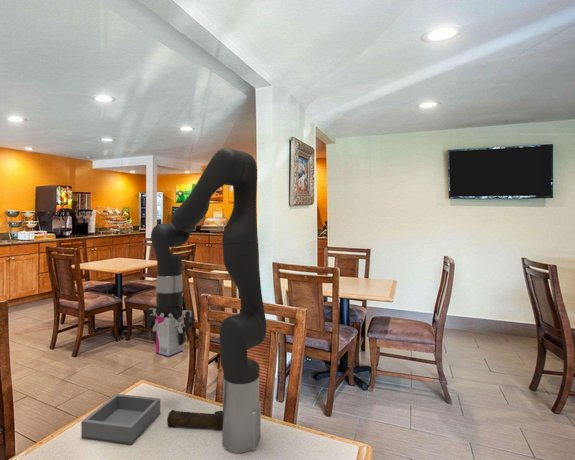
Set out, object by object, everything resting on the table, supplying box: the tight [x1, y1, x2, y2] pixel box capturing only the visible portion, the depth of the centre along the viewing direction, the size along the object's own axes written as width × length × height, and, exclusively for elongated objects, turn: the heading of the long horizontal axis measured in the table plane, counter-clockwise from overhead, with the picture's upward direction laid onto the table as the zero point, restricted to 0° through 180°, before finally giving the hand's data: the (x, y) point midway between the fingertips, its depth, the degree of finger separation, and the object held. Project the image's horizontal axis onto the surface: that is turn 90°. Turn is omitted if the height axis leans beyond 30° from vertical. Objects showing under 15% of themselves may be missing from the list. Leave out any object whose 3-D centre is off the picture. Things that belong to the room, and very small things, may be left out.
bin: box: [80, 393, 161, 446], centre depth 94 cm, size 14×14×4 cm
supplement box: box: [155, 314, 184, 358], centre depth 104 cm, size 6×6×12 cm
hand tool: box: [166, 409, 223, 432], centre depth 94 cm, size 19×4×5 cm, turn 82°
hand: (169, 343), depth 104 cm, fingers closed on supplement box, 7 cm apart
